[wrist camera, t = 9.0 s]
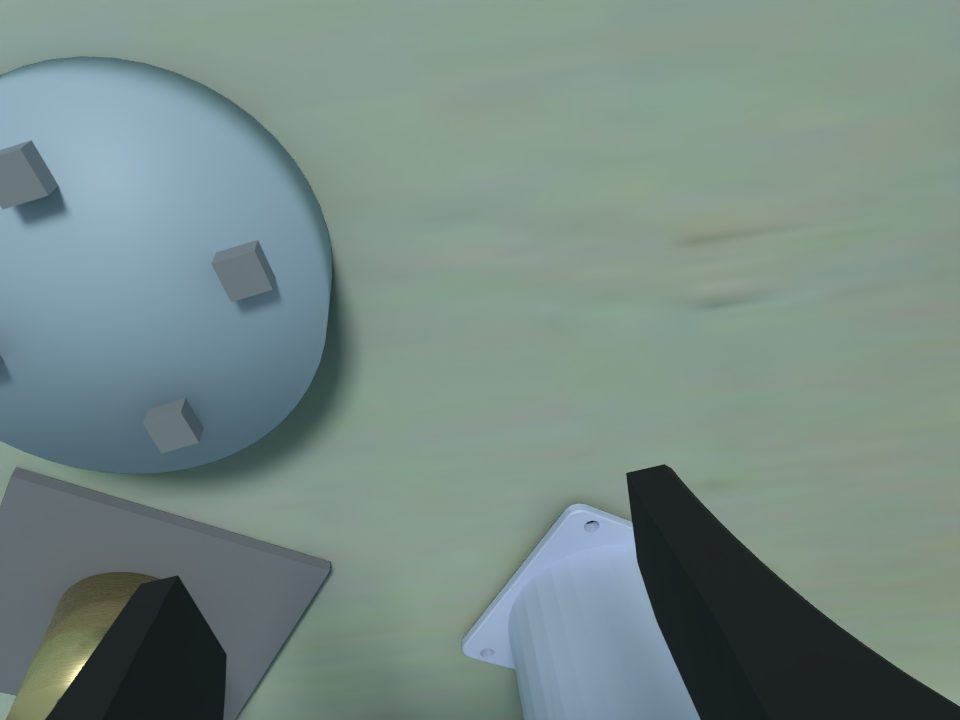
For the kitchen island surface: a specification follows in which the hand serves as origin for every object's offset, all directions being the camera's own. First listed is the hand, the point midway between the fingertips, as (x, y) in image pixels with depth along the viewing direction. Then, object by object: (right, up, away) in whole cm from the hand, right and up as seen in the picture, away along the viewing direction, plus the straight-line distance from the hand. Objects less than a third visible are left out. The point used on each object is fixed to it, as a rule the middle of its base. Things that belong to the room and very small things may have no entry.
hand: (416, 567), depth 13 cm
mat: (-11, -6, +15) cm, 19 cm away
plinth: (-8, +6, +8) cm, 12 cm away
